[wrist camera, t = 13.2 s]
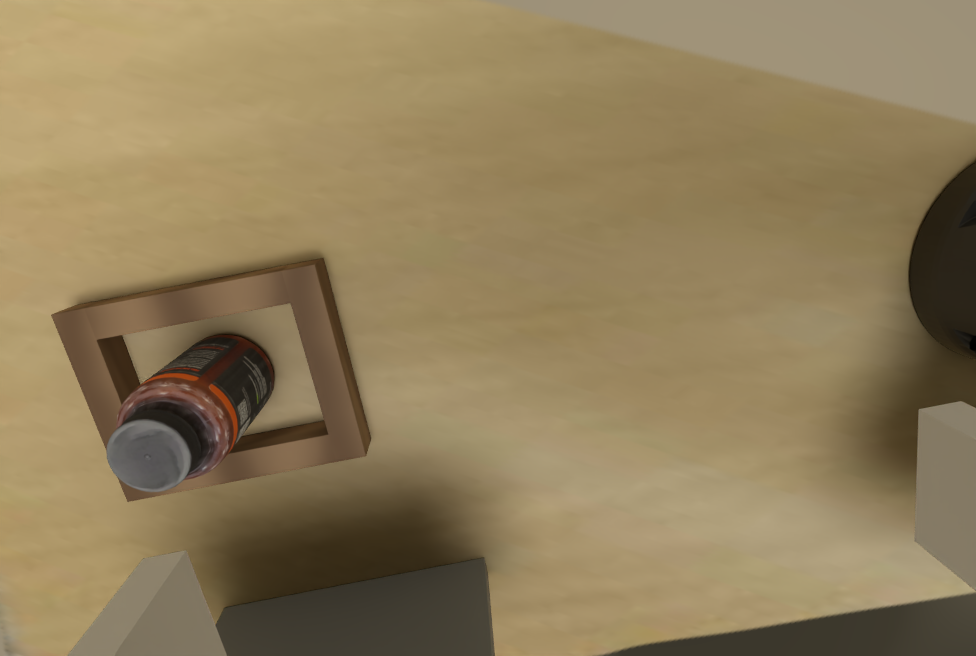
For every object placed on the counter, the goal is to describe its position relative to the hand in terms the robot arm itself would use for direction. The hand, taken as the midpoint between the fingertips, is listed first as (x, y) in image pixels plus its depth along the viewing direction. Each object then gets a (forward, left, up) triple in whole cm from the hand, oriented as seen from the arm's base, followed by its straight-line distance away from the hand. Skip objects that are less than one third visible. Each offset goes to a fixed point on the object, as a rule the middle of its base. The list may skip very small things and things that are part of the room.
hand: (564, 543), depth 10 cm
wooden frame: (+18, +4, -29) cm, 34 cm away
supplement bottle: (+18, +4, -29) cm, 34 cm away
